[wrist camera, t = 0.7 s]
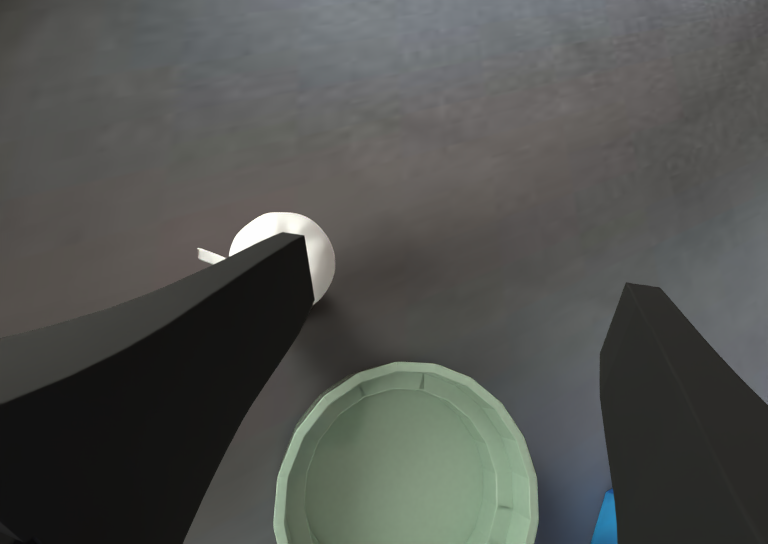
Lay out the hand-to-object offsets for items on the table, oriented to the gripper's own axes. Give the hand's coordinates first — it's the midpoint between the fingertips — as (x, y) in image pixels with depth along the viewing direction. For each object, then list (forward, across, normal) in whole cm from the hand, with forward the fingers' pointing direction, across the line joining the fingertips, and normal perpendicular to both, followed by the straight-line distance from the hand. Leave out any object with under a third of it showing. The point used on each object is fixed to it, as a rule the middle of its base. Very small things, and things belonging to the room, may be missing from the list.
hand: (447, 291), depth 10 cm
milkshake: (+10, +12, +10) cm, 19 cm away
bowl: (+5, +3, +18) cm, 19 cm away
